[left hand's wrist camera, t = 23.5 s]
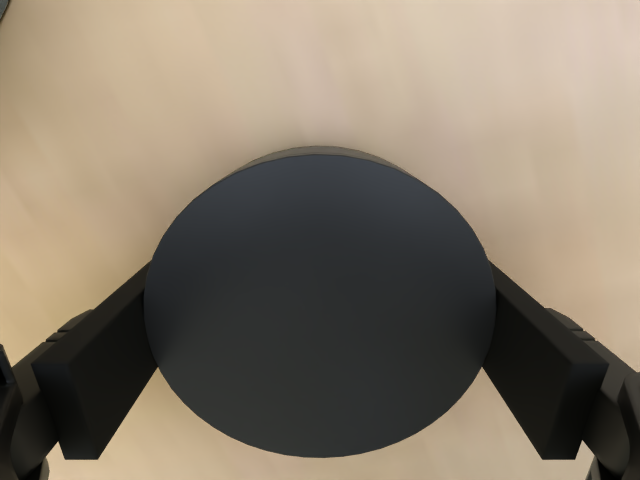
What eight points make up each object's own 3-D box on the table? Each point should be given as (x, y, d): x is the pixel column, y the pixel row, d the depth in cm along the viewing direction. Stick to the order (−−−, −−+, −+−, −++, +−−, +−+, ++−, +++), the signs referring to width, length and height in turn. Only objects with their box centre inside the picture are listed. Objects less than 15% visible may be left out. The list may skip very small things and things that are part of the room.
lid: (345, 439, 15) (350, 498, 12) (126, 319, 13) (85, 364, 10) (525, 264, 12) (573, 299, 10) (280, 72, 10) (269, 59, 8)
